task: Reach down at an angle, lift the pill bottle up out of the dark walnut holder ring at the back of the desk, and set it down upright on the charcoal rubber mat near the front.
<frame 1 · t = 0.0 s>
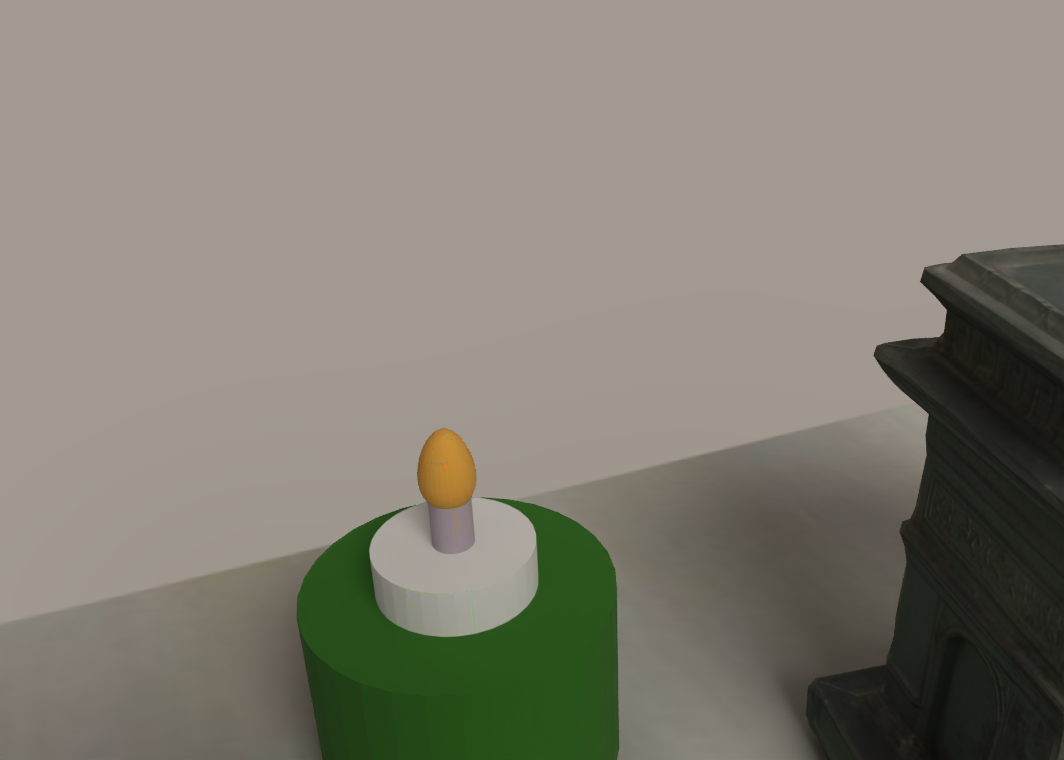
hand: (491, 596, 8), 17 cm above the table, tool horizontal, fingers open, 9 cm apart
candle: (473, 745, 29), on the table
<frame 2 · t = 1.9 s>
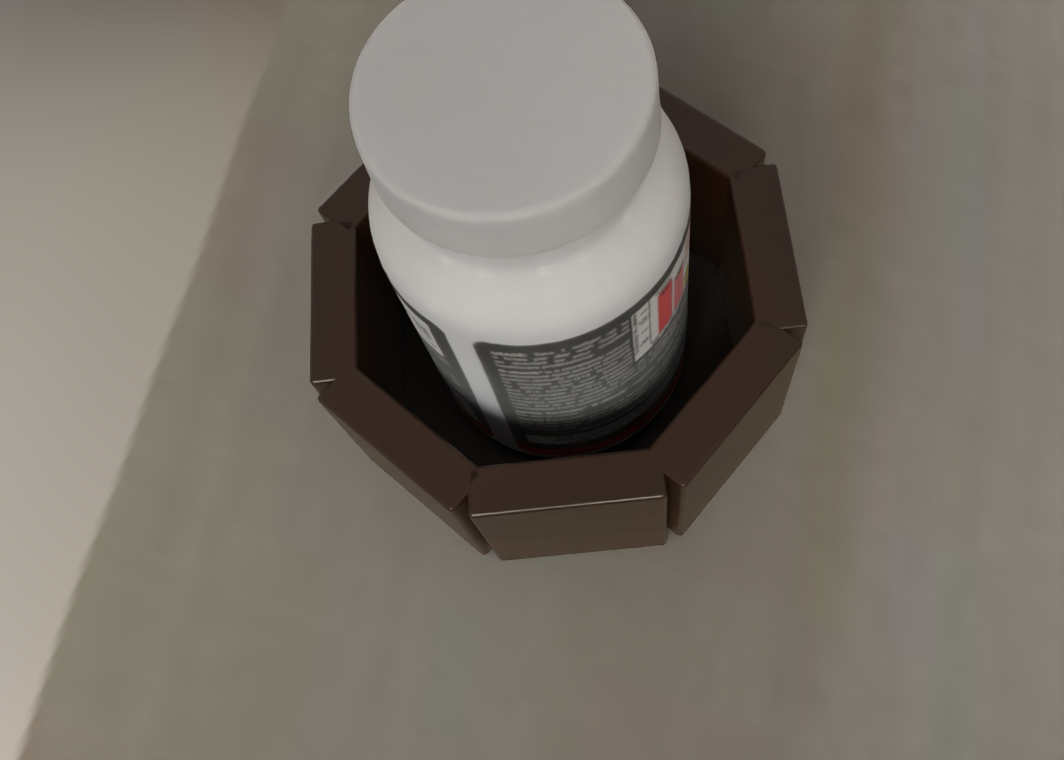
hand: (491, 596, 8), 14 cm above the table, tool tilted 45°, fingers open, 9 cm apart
pill bottle: (564, 352, 24), resting in holder ring
holder ring: (563, 349, 24), on the table
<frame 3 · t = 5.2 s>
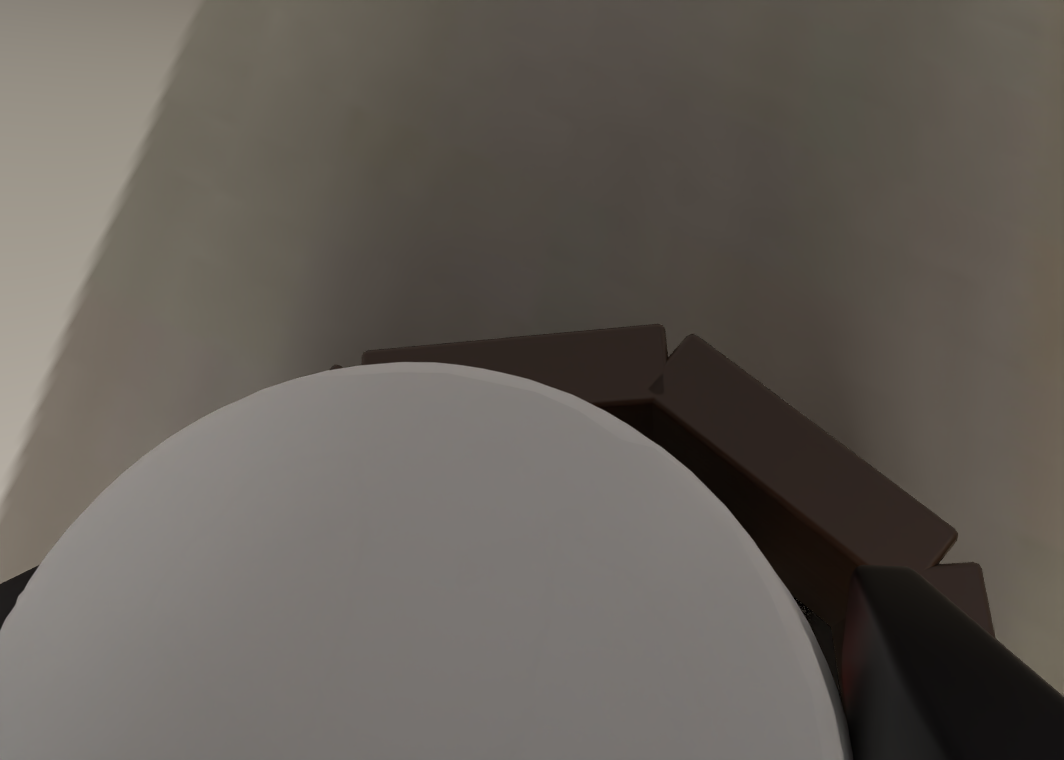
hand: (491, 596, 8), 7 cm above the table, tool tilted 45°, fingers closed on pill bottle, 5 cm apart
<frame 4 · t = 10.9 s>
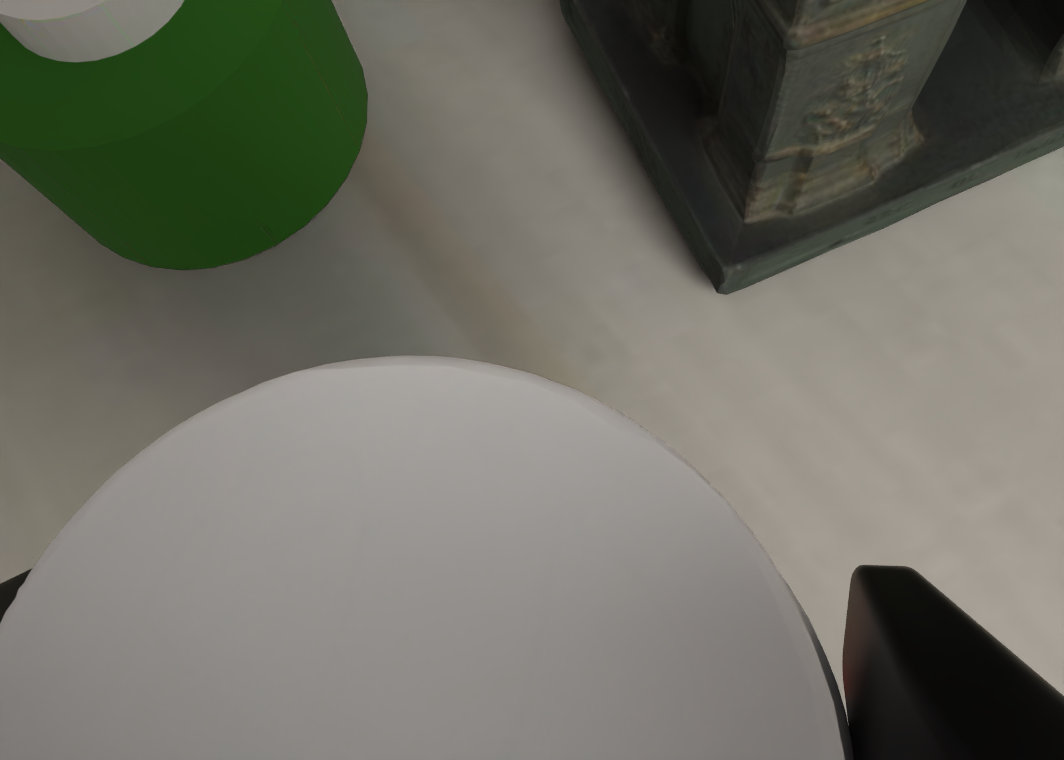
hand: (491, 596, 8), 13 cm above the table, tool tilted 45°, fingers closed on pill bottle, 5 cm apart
pill bottle: (565, 759, 14), point 6 cm above the table, touching gripper
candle: (214, 127, 26), on the table
model: (889, 47, 25), on the table
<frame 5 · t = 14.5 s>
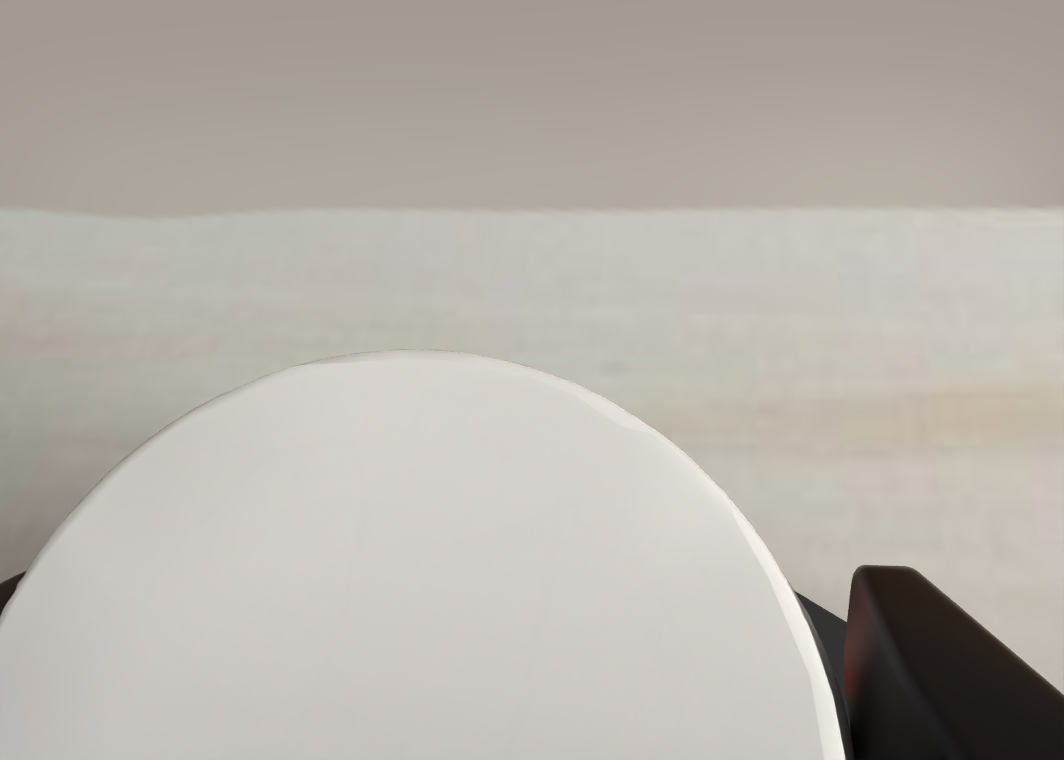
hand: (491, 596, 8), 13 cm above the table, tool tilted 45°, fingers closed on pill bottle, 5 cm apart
pill bottle: (565, 756, 14), point 6 cm above the table, touching gripper
rubber mat: (598, 737, 20), on the table
when the fingers open (8 cm above the table, at t = 16.8 s): pill bottle stays where it is, resting on rubber mat.
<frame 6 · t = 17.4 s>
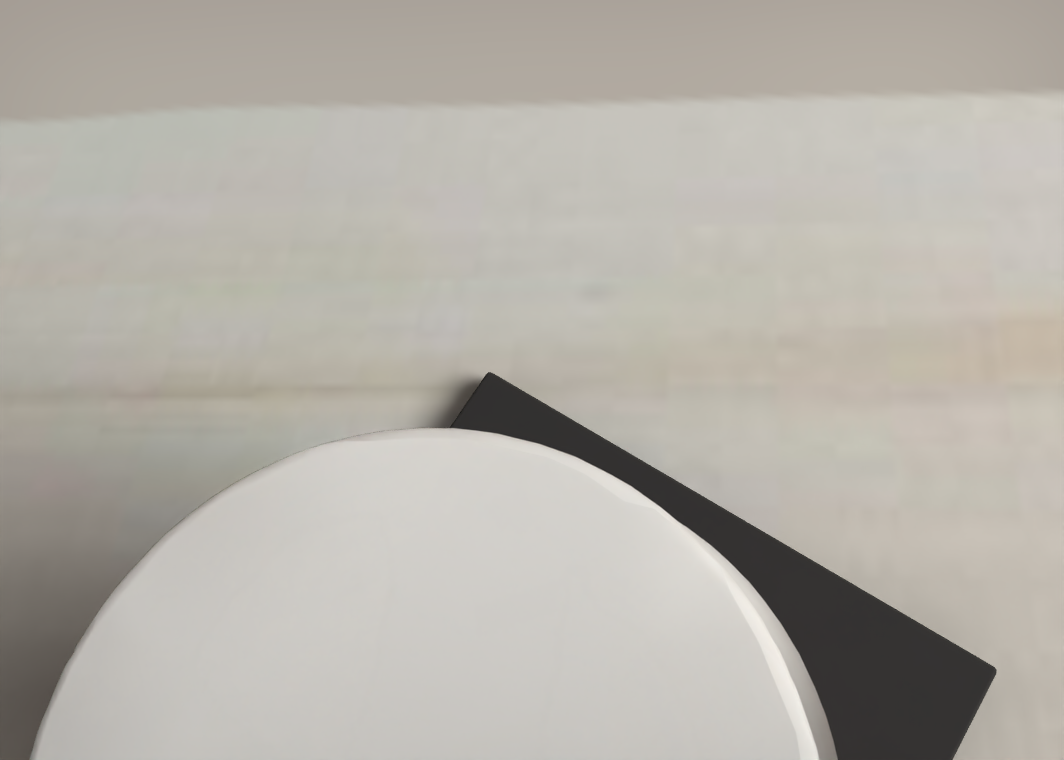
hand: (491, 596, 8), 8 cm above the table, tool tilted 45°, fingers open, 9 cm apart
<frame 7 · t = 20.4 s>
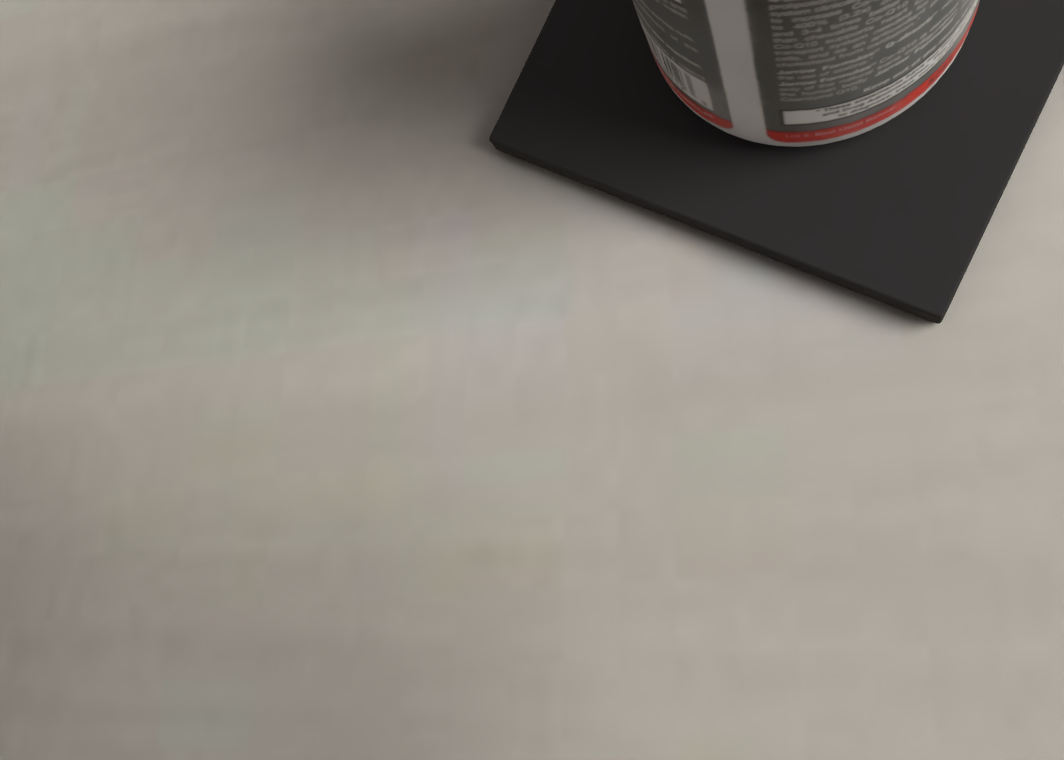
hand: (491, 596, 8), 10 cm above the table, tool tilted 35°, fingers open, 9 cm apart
pill bottle: (805, 11, 19), resting on rubber mat
rubber mat: (804, 13, 19), on the table
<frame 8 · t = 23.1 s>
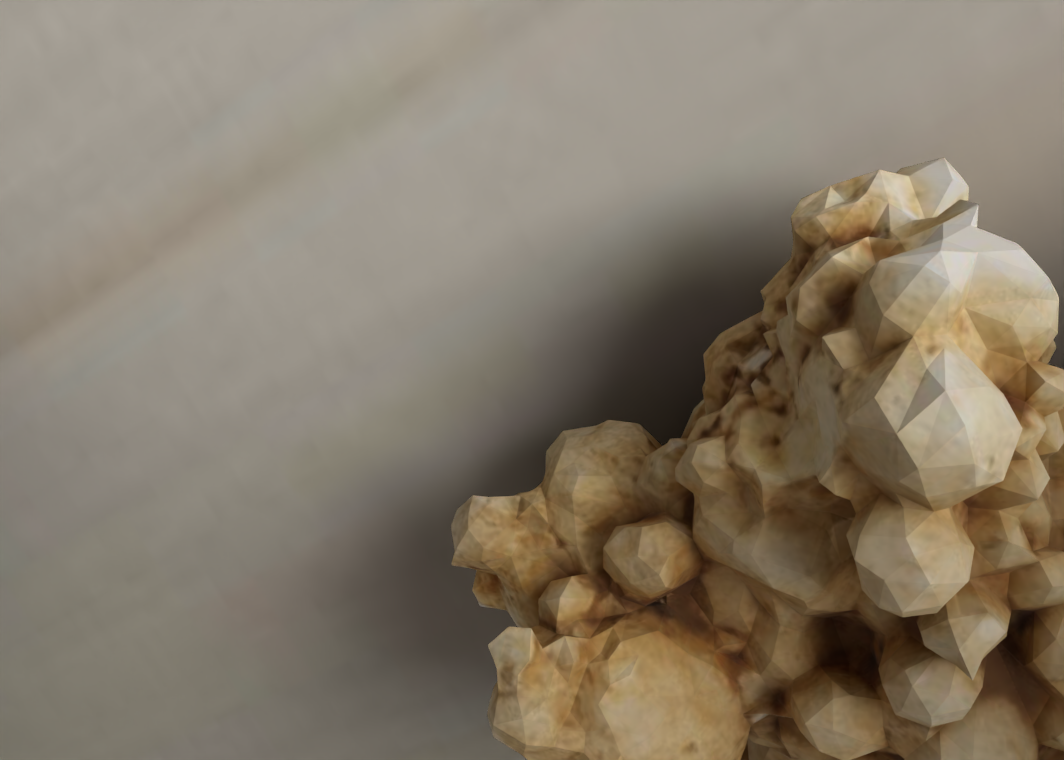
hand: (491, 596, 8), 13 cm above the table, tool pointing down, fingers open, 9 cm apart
mineral formation: (855, 527, 23), on the table
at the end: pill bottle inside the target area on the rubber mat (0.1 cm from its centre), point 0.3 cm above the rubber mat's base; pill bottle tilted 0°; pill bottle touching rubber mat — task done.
